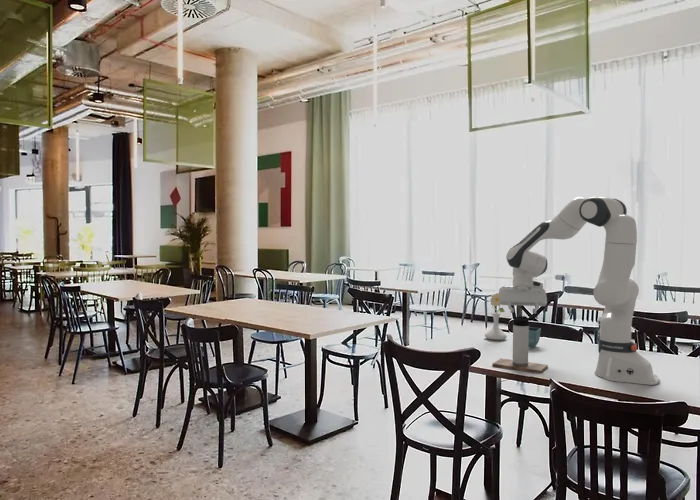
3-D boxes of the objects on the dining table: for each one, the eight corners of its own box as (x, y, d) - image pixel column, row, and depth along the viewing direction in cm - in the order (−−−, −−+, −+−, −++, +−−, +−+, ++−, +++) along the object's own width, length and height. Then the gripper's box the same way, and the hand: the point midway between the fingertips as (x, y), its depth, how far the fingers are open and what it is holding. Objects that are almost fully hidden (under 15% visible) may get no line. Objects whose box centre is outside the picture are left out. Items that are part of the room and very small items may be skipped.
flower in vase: (480, 337, 284) (481, 291, 283) (499, 336, 287) (500, 290, 286) (492, 342, 271) (493, 294, 270) (512, 341, 274) (513, 293, 273)
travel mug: (531, 364, 224) (531, 317, 223) (523, 367, 219) (524, 319, 218) (517, 361, 228) (517, 315, 227) (509, 364, 223) (510, 317, 223)
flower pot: (541, 346, 264) (541, 328, 264) (536, 349, 257) (537, 331, 256) (523, 343, 269) (523, 326, 268) (518, 347, 261) (518, 329, 261)
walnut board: (547, 367, 223) (547, 364, 223) (541, 373, 214) (541, 370, 214) (500, 361, 234) (500, 358, 234) (492, 366, 225) (492, 363, 225)
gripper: (499, 282, 244) (498, 308, 235) (546, 283, 238) (547, 309, 229) (499, 290, 248) (499, 315, 240) (545, 291, 242) (547, 317, 234)
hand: (523, 312), depth 235 cm, fingers open, 8 cm apart
